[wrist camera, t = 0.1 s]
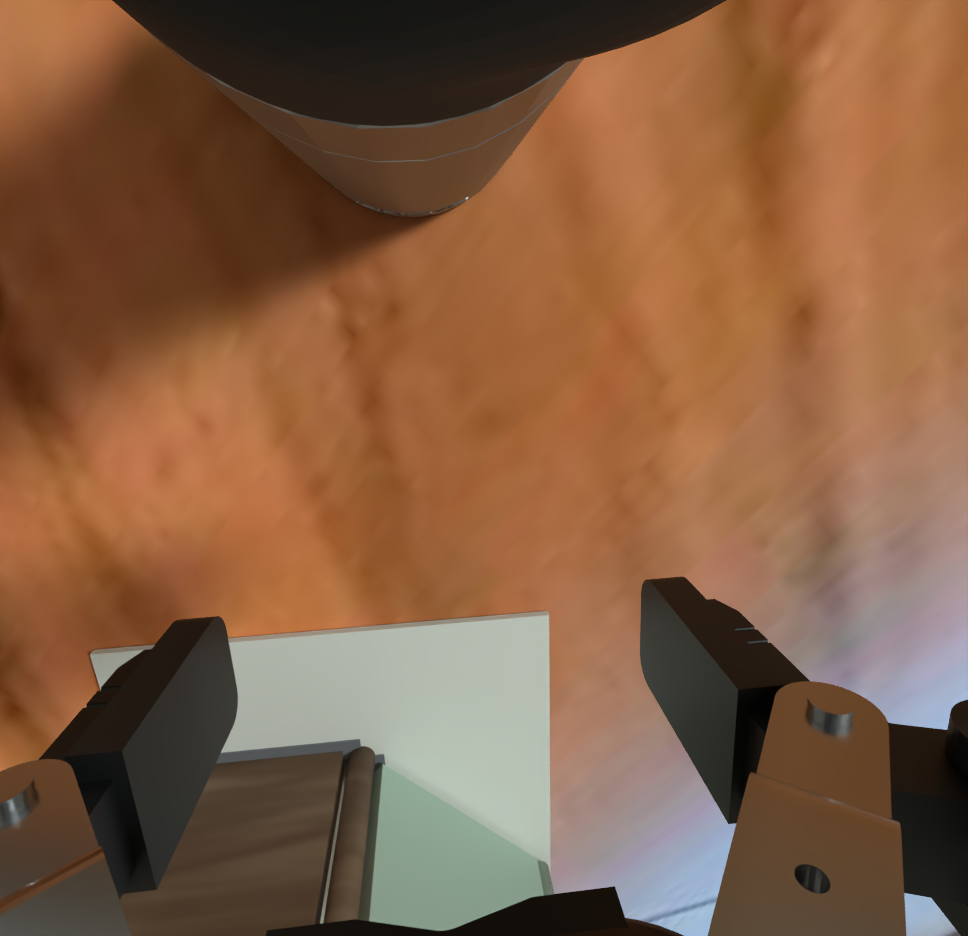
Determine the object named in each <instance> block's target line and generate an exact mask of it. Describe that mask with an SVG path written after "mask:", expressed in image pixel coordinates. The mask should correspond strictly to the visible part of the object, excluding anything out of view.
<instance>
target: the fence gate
mask: <svg viewBox="0 0 968 936" xmlns="http://www.w3.org/2000/svg"><path fill="white" fill-rule="evenodd" d="M552 894H554V891H553V886H552V881H551V876H550V872H549V867H548V864H547V863H546V862H544V861H537V859H536V858H535V857H533V856H532V855H530V854H528V853H527V852H525V851H523V850H522V849H520V848H519V847H517V846H515V845H514V844H512V843H510V842H509V841H507V840H506V839H504V838H502V837H501V836H499V835H498V834H496V833H494V832H493V831H491V830H489V829H488V828H486V827H485V826H483V825H481V824H480V823H478V822H476V821H475V820H473V819H472V818H470V817H468V816H467V815H465V814H463V813H462V812H460V811H459V810H457V809H455V808H454V807H452V806H451V805H449V804H447V803H446V802H444V801H442V800H441V799H439V798H438V797H436V796H434V795H433V794H431V793H429V792H428V791H426V790H425V789H423V788H421V787H420V786H418V785H416V784H415V783H413V782H412V781H410V780H408V779H407V778H405V777H404V776H402V775H400V774H399V773H397V772H395V771H394V770H392V769H391V768H389V767H387V766H386V765H384V764H382V765H381V766H380V767H379V768H378V769H377V770H376V771H375V772H374V773H373V782H372V791H371V801H370V810H369V820H368V829H367V839H366V849H365V858H364V868H363V877H362V887H361V897H360V906H359V916H358V920H364V921H371V922H378V923H385V924H393V925H400V926H407V927H414V928H421V929H428V930H436V931H444V930H450V929H453V928H456V927H459V926H461V925H464V924H466V923H469V922H471V921H474V920H476V919H479V918H481V917H484V916H486V915H488V914H491V913H493V912H496V911H498V910H501V909H503V908H506V907H508V906H511V905H513V904H516V903H518V902H521V901H523V900H526V899H528V898H531V897H536V896H544V895H552Z"/></svg>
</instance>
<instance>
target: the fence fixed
mask: <svg viewBox="0 0 968 936" xmlns="http://www.w3.org/2000/svg"><path fill="white" fill-rule="evenodd" d="M374 762H375V753H374V751H373V750H372V749H371V748H369V747H366V746H361V748H357V749H355V750H353V751H352V752H351V753H350V756H349V762H348V768H347V775H346V781H345V787H344V794H343V800H342V806H341V813H340V819H339V826H338V832H337V838H336V845H335V851H334V858H333V864H332V870H331V877H330V883H329V889H328V896H327V902H326V909H325V915H324V921H323V923H330V922H337V921H345V920H353V919H357V920H358V916H359V906H360V897H361V887H362V877H363V868H364V858H365V849H366V839H367V829H368V820H369V810H370V801H371V791H372V782H373V772H374ZM344 771H345V764H344V758H343V751H336V752H326V753H316V754H306V755H296V756H287V757H277V758H267V759H257V760H247V761H237V762H227V763H217V764H215V766H214V768H213V770H212V773H211V775H210V777H209V779H208V781H207V783H206V785H205V788H204V790H203V792H202V794H201V796H200V798H199V800H198V803H197V805H196V807H195V809H194V811H193V813H192V815H191V818H190V820H189V822H188V824H187V826H186V828H185V830H184V833H183V835H182V837H181V839H180V841H179V843H178V845H177V848H176V850H175V852H174V854H173V856H172V858H171V860H170V863H169V865H168V867H167V869H166V871H165V873H164V875H163V878H162V880H161V882H160V884H159V886H158V888H157V890H152V891H143V892H135V893H126V894H123V895H122V897H121V899H120V903H121V906H122V908H123V911H124V914H125V917H126V920H127V923H128V926H129V929H130V932H131V935H132V936H266V932H267V930H274V929H282V928H290V927H298V926H306V925H314V924H320V920H321V914H322V907H323V901H324V895H325V889H326V883H327V877H328V870H329V864H330V858H331V852H332V846H333V839H334V833H335V827H336V821H337V815H338V809H339V802H340V796H341V790H342V784H343V778H344Z"/></svg>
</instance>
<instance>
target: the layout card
mask: <svg viewBox="0 0 968 936" xmlns="http://www.w3.org/2000/svg"><path fill="white" fill-rule="evenodd" d="M228 641H229V647H230V652H231V658H232V663H233V669H234V674H235V680H236V685H237V692H238V707H237V714H236V719H235V723H234V725H233V728H232V730H231V732H230V734H229V736H228V738H227V741H226V743H225V745H224V747H223V749H222V751H221V753H220V755H219V758H218V760H217V762H216V764H217V763H227V762H237V761H247V760H257V759H267V758H277V757H287V756H296V755H306V754H316V753H326V752H336V751H343V758H344V764H345V771H344V778H343V784H342V790H341V796H340V802H339V809H338V815H337V821H336V827H335V833H334V839H333V846H332V852H331V858H330V864H329V870H328V877H327V883H326V889H325V895H324V901H323V907H322V914H321V920H320V924H322V923H323V921H324V915H325V909H326V902H327V896H328V889H329V883H330V877H331V870H332V864H333V858H334V851H335V845H336V838H337V832H338V826H339V819H340V813H341V806H342V800H343V794H344V787H345V781H346V775H347V768H348V762H349V756H350V753H351V752H352V751H353V750H355V749H357V748H361V746H366V747H369V748H371V749H372V750H373V751H374V753H375V762H374V772H375V771H376V770H377V769H378V768H379V767H380V766H381V765H382V764H384V765H386V766H387V767H389V768H391V769H392V770H394V771H395V772H397V773H399V774H400V775H402V776H404V777H405V778H407V779H408V780H410V781H412V782H413V783H415V784H416V785H418V786H420V787H421V788H423V789H425V790H426V791H428V792H429V793H431V794H433V795H434V796H436V797H438V798H439V799H441V800H442V801H444V802H446V803H447V804H449V805H451V806H452V807H454V808H455V809H457V810H459V811H460V812H462V813H463V814H465V815H467V816H468V817H470V818H472V819H473V820H475V821H476V822H478V823H480V824H481V825H483V826H485V827H486V828H488V829H489V830H491V831H493V832H494V833H496V834H498V835H499V836H501V837H502V838H504V839H506V840H507V841H509V842H510V843H512V844H514V845H515V846H517V847H519V848H520V849H522V850H523V851H525V852H527V853H528V854H530V855H532V856H533V857H535V858H536V859H537V861H544V862H546V863H547V864H548V867H549V872H550V703H549V613H548V611H540V612H528V613H516V614H505V615H493V616H481V617H470V618H458V619H446V620H435V621H423V622H411V623H400V624H388V625H376V626H365V627H353V628H341V629H330V630H318V631H306V632H295V633H283V634H271V635H260V636H248V637H236V638H228ZM154 646H155V645H143V646H131V647H120V648H108V649H97V650H93V651H92V653H91V654H90V657H91V661H92V664H93V667H94V671H95V674H96V677H97V680H98V684H99V687H100V690H101V687H102V686H103V684H104V683H105V682H106V681H107V680H108V679H109V677H110V676H111V675H112V674H113V673H114V672H115V671H116V669H117V668H118V667H120V666H121V665H123V664H124V663H126V662H127V661H129V660H130V659H132V658H133V657H134V656H136V655H137V654H139V653H140V652H142V651H143V650H148V649H152V648H153V647H154ZM374 772H373V773H374Z"/></svg>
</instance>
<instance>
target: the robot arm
mask: <svg viewBox="0 0 968 936" xmlns="http://www.w3.org/2000/svg"><path fill="white" fill-rule="evenodd" d="M112 1H114V2H115V3H116V4H117V5H118V6H119V7H121V8H122V9H123V10H124V11H125V12H127V13H128V14H129V15H130V16H131V17H132V18H134V19H135V20H136V21H137V22H138V23H140V24H141V25H142V26H143V27H144V28H145V29H147V30H148V31H149V32H150V33H151V34H152V35H153V36H154V37H155V38H157V39H158V40H159V41H160V42H161V43H162V44H164V45H165V46H166V47H167V48H168V49H170V50H171V51H172V52H173V53H174V54H176V55H177V56H178V57H179V58H180V59H182V60H183V61H184V62H185V63H186V64H187V65H189V66H190V67H191V68H192V69H193V70H195V71H196V72H197V73H198V74H199V75H201V76H202V77H203V78H204V79H205V80H207V81H208V82H209V83H210V84H211V85H213V86H214V87H215V88H216V89H217V90H218V91H220V92H221V93H222V94H223V95H225V96H226V97H228V98H229V99H230V100H231V101H232V102H234V103H235V104H236V105H237V106H238V107H240V108H241V109H242V110H243V111H244V112H246V113H247V114H248V115H249V116H250V117H251V118H253V119H254V120H255V121H256V122H257V123H259V124H260V125H261V126H262V127H263V128H265V129H266V130H267V131H268V132H269V133H270V134H272V135H273V136H274V137H275V138H276V139H278V140H279V141H280V142H281V143H282V144H283V145H285V146H286V147H287V148H288V149H289V150H291V151H292V152H293V153H294V154H295V155H297V156H298V157H299V158H300V159H301V160H302V161H304V162H305V163H306V164H307V165H308V166H310V167H311V168H312V169H313V170H314V171H316V172H317V173H318V174H319V175H320V176H321V177H323V178H324V179H325V180H327V181H328V182H329V183H330V184H332V185H333V186H334V187H335V188H336V189H338V190H339V191H340V192H341V193H342V194H343V195H345V196H346V197H348V198H349V199H351V200H353V201H355V202H356V203H358V204H360V205H362V206H364V207H366V208H367V209H370V210H374V211H377V212H380V213H384V214H387V215H390V216H400V217H413V218H415V217H422V216H429V215H435V214H439V213H442V212H444V211H447V210H449V209H452V208H454V207H457V206H459V205H461V204H462V203H464V202H465V201H467V200H468V199H470V198H471V197H472V196H474V195H475V194H477V193H478V192H480V191H481V189H482V188H483V187H484V186H485V185H486V184H487V183H488V182H489V181H490V180H491V179H492V178H493V177H494V175H495V174H496V173H497V172H498V171H499V169H500V168H501V167H502V165H503V164H504V163H505V162H506V161H507V159H508V158H509V157H510V156H511V154H512V153H513V152H514V150H515V149H516V148H517V146H518V145H519V144H520V142H521V141H522V140H523V138H524V137H525V136H526V134H527V133H528V132H529V130H530V129H531V128H532V126H533V125H534V124H535V122H536V121H537V120H538V118H539V117H540V116H541V114H542V113H543V112H544V110H545V109H546V108H547V106H548V105H549V104H550V102H551V101H552V100H553V98H554V97H555V96H556V94H557V93H558V92H559V90H560V89H561V88H562V86H563V85H564V84H565V83H566V81H567V80H568V79H569V77H570V76H571V75H572V73H573V72H574V71H575V69H576V68H577V67H578V65H579V64H580V63H581V61H582V60H583V59H584V58H586V57H590V56H593V55H597V54H600V53H604V52H607V51H611V50H614V49H618V48H621V47H624V46H627V45H630V44H633V43H635V42H638V41H641V40H644V39H647V38H650V37H653V36H655V35H658V34H660V33H662V32H664V31H667V30H669V29H671V28H674V27H676V26H678V25H680V24H683V23H685V22H687V21H689V20H691V19H693V18H695V17H697V16H699V15H701V14H702V13H704V12H706V11H708V10H710V9H712V8H713V7H715V6H717V5H719V4H720V3H722V2H724V1H726V0H112ZM640 658H641V665H642V670H643V674H644V677H645V680H646V682H647V684H648V686H649V688H650V690H651V692H652V693H653V695H654V697H655V698H656V700H657V702H658V704H659V705H660V707H661V709H662V710H663V712H664V714H665V716H666V717H667V719H668V721H669V722H670V724H671V726H672V728H673V729H674V731H675V733H676V734H677V736H678V738H679V740H680V741H681V743H682V745H683V747H684V748H685V750H686V752H687V753H688V755H689V757H690V759H691V760H692V762H693V764H694V765H695V767H696V769H697V771H698V772H699V774H700V776H701V777H702V779H703V781H704V783H705V784H706V786H707V788H708V789H709V791H710V793H711V795H712V796H713V798H714V800H715V802H716V803H717V805H718V807H719V808H720V810H721V812H722V814H723V815H724V817H725V819H726V820H727V822H728V824H732V823H737V824H736V828H735V832H734V836H733V839H732V843H731V847H730V851H729V855H728V859H727V863H726V867H725V871H724V874H723V878H722V882H721V886H720V890H719V894H718V898H717V902H716V906H715V909H714V913H713V917H712V921H711V925H710V929H709V933H708V936H906V921H905V900H904V893H909V894H914V895H920V896H926V897H931V898H932V899H933V900H934V902H935V903H936V904H937V906H938V907H939V908H940V909H941V911H942V912H943V913H944V914H945V916H946V917H947V918H948V920H949V921H950V922H951V923H952V925H953V926H954V927H955V928H956V930H957V931H958V932H959V934H960V935H961V936H968V700H965V701H962V702H959V703H957V704H956V705H954V707H953V708H952V710H951V713H950V719H949V724H948V730H942V729H933V728H924V727H916V726H907V725H899V724H892V723H888V722H887V720H886V718H885V716H884V715H883V713H882V712H881V711H880V710H879V709H878V708H877V707H876V706H875V705H874V704H872V703H871V702H870V701H868V700H867V699H865V698H863V697H862V696H860V695H858V694H856V693H854V692H852V691H850V690H847V689H844V688H842V687H838V686H835V685H831V684H827V683H821V682H810V681H809V680H808V679H807V678H806V677H805V676H804V675H803V674H802V673H801V672H800V671H799V670H798V669H797V668H796V667H795V666H794V665H793V664H792V663H791V662H790V661H789V660H788V659H787V658H786V657H785V656H784V655H783V654H782V653H781V652H780V651H779V650H778V649H777V648H776V647H775V646H773V645H772V644H771V643H768V641H767V639H766V638H765V637H764V636H763V635H762V634H761V633H760V632H759V631H758V630H755V629H754V626H753V625H752V624H751V623H750V622H749V621H748V620H747V619H746V618H745V617H744V616H743V615H742V614H741V613H740V612H739V611H737V610H735V609H733V608H731V607H729V606H727V605H725V604H723V603H721V602H719V601H717V600H715V599H710V600H706V599H705V598H704V597H703V595H702V594H701V593H700V592H699V591H698V590H697V589H696V588H695V587H694V586H693V585H692V584H691V583H690V582H689V581H688V580H687V579H686V578H685V577H673V578H661V579H650V580H645V581H644V583H643V585H642V591H641V632H640ZM237 707H238V692H237V685H236V680H235V674H234V669H233V663H232V658H231V652H230V647H229V641H228V636H227V630H226V626H225V623H224V621H223V620H222V618H221V617H219V616H217V617H205V618H194V619H182V620H176V621H174V622H173V623H172V625H171V626H170V627H169V628H168V630H167V631H166V632H165V633H164V634H163V636H162V637H161V638H160V639H159V641H158V642H157V643H156V644H155V646H154V647H153V648H152V649H148V650H143V651H142V652H140V653H139V654H137V655H136V656H134V657H133V658H132V659H130V660H129V661H127V662H126V663H124V664H123V665H121V666H120V667H118V668H117V669H116V671H115V672H114V673H113V674H112V675H111V676H110V677H109V679H108V680H107V681H106V682H105V683H104V684H103V686H102V687H101V691H97V693H96V694H95V695H94V696H93V697H92V698H91V699H90V701H89V702H88V703H87V707H86V708H83V709H82V710H81V711H80V712H79V713H78V715H77V716H76V717H75V718H74V719H73V720H72V721H71V723H70V724H69V725H68V726H67V727H66V728H65V730H64V731H63V732H62V733H61V734H60V735H59V737H58V738H57V739H56V740H55V741H54V742H53V743H52V745H51V746H50V747H49V748H48V749H47V750H46V752H45V753H44V754H43V755H42V756H41V757H40V759H39V760H35V761H30V762H26V763H22V764H19V765H16V766H13V767H11V768H8V769H5V770H3V771H1V772H0V936H132V935H131V932H130V929H129V926H128V923H127V920H126V917H125V914H124V911H123V908H122V906H121V903H120V899H121V897H122V895H123V894H126V893H135V892H143V891H152V890H157V888H158V886H159V884H160V882H161V880H162V878H163V875H164V873H165V871H166V869H167V867H168V865H169V863H170V860H171V858H172V856H173V854H174V852H175V850H176V848H177V845H178V843H179V841H180V839H181V837H182V835H183V833H184V830H185V828H186V826H187V824H188V822H189V820H190V818H191V815H192V813H193V811H194V809H195V807H196V805H197V803H198V800H199V798H200V796H201V794H202V792H203V790H204V788H205V785H206V783H207V781H208V779H209V777H210V775H211V773H212V770H213V768H214V766H215V764H216V762H217V760H218V758H219V755H220V753H221V751H222V749H223V747H224V745H225V743H226V741H227V738H228V736H229V734H230V732H231V730H232V728H233V725H234V723H235V719H236V714H237ZM266 936H683V935H681V934H679V933H676V932H674V931H671V930H669V929H666V928H664V927H661V926H658V925H655V924H651V923H647V922H643V921H639V920H634V919H628V918H625V917H624V914H623V911H622V908H621V904H620V901H619V898H618V895H617V892H616V889H615V887H608V888H600V889H592V890H584V891H576V892H568V893H560V894H552V895H544V896H536V897H531V898H528V899H526V900H523V901H521V902H518V903H516V904H513V905H511V906H508V907H506V908H503V909H501V910H498V911H496V912H493V913H491V914H488V915H486V916H484V917H481V918H479V919H476V920H474V921H471V922H469V923H466V924H464V925H461V926H459V927H456V928H453V929H450V930H444V931H436V930H428V929H421V928H414V927H407V926H400V925H393V924H385V923H378V922H371V921H364V920H357V919H353V920H345V921H337V922H330V923H322V924H314V925H306V926H298V927H290V928H282V929H274V930H267V932H266Z"/></svg>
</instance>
